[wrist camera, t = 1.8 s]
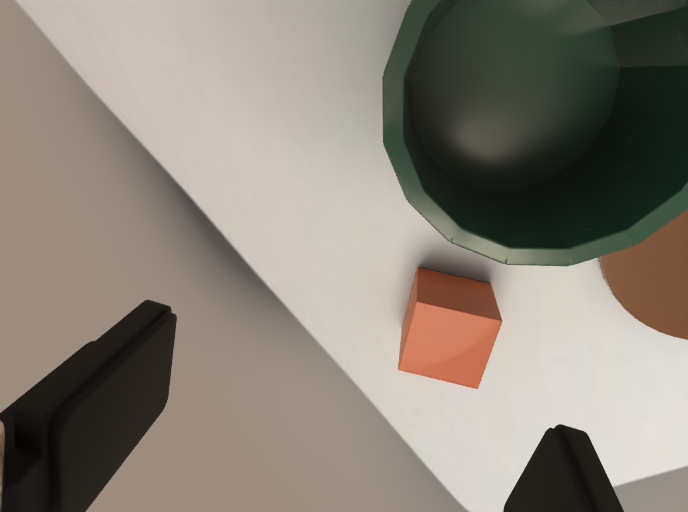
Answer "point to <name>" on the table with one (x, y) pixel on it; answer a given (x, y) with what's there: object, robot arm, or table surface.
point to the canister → (541, 123)
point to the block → (449, 328)
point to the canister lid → (654, 278)
